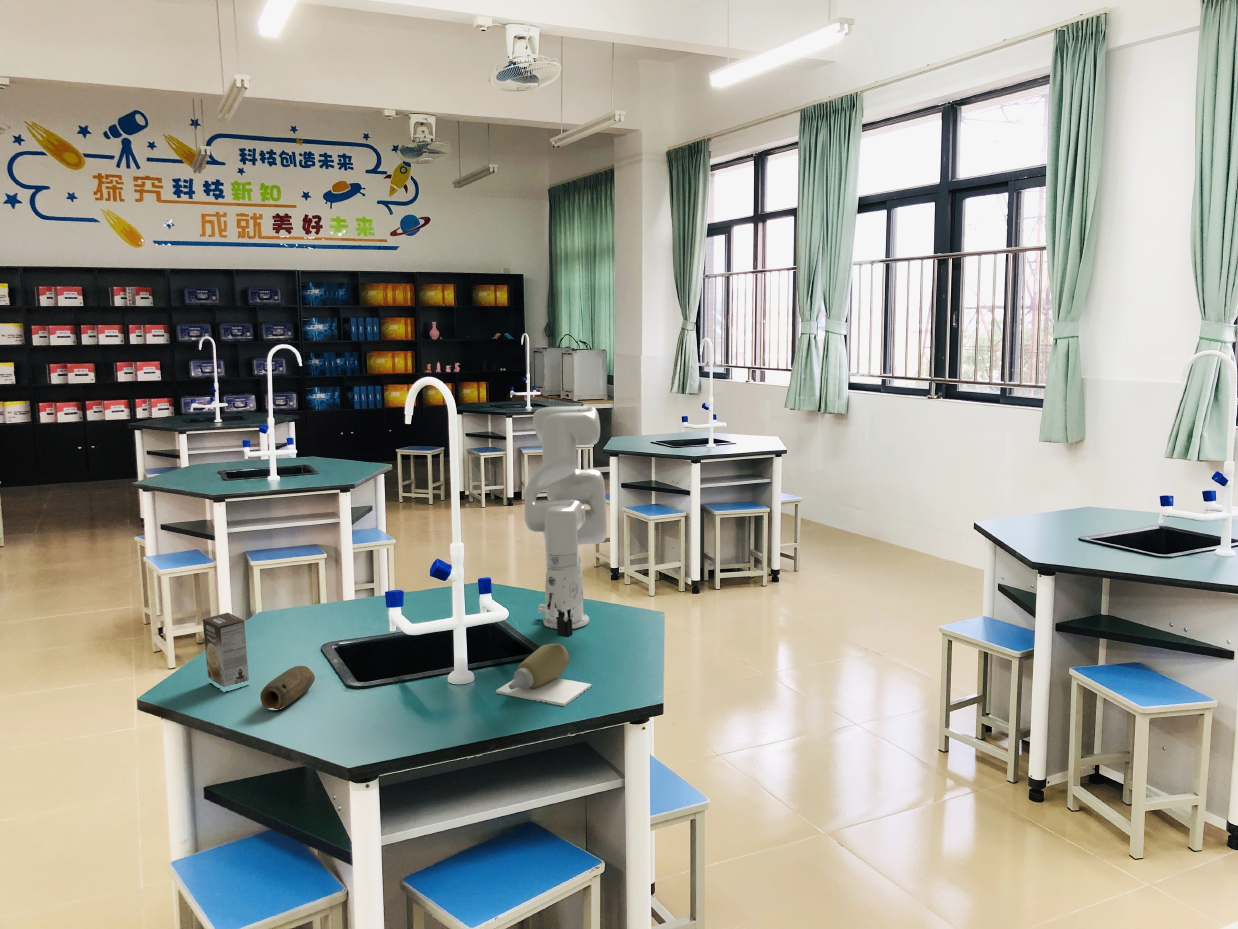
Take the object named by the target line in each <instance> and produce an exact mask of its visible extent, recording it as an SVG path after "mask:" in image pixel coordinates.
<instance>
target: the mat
mask: <svg viewBox="0 0 1238 929" xmlns="http://www.w3.org/2000/svg"><path fill="white" fill-rule="evenodd" d="M513 680H514V679H512V680H511V681H509V682H507V683H505V684H504V685H503V686H501V687H499V688H497V689H496V690H495V693H496V694H500V695H506V696H511V697H516V698H521V699H526V700H531V701H535V700H536V701H535V702H540V701H542V702H541V703H545V702H547V703H546V704H550V705H557V706H562V707H566V706H567V705H568V704H569V703H571V702H573V701H574V700H575V699H576V697H577V698H578V697H579V696H581V695H582V694H584V693H585V692H586V691H588V690H589V689H590V687H591V686H593V684H591V683H587V682H582V681H581V682H580V681H577V680H570V679H565V678H559V677H556V678H554V679H552V680H550V681H548V682H546V683H544V684H542V685H540V686H538V687H536V688H534V689H532V688H528V689H526V690H523V689H521V688H519V687H518V688H515V689H510V688H509V685H510V684H511V682H512V681H513ZM591 688H592V687H591ZM587 689H588V690H587ZM584 691H585V692H584ZM583 692H584V693H583ZM580 694H581V695H580Z"/></svg>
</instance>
